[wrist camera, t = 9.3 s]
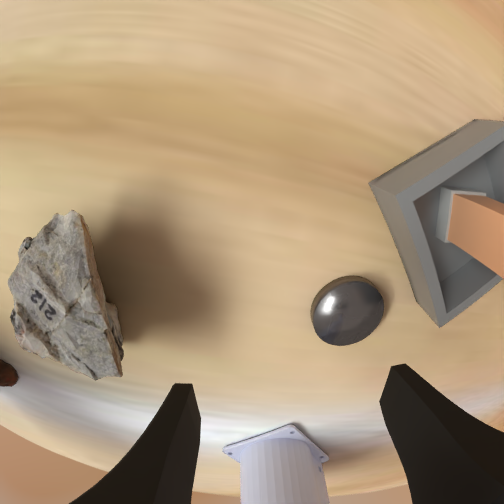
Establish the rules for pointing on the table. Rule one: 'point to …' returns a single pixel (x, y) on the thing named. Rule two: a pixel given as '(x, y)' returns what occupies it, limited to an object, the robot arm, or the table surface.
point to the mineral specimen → (65, 301)
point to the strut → (473, 225)
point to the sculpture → (7, 374)
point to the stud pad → (346, 310)
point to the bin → (426, 214)
